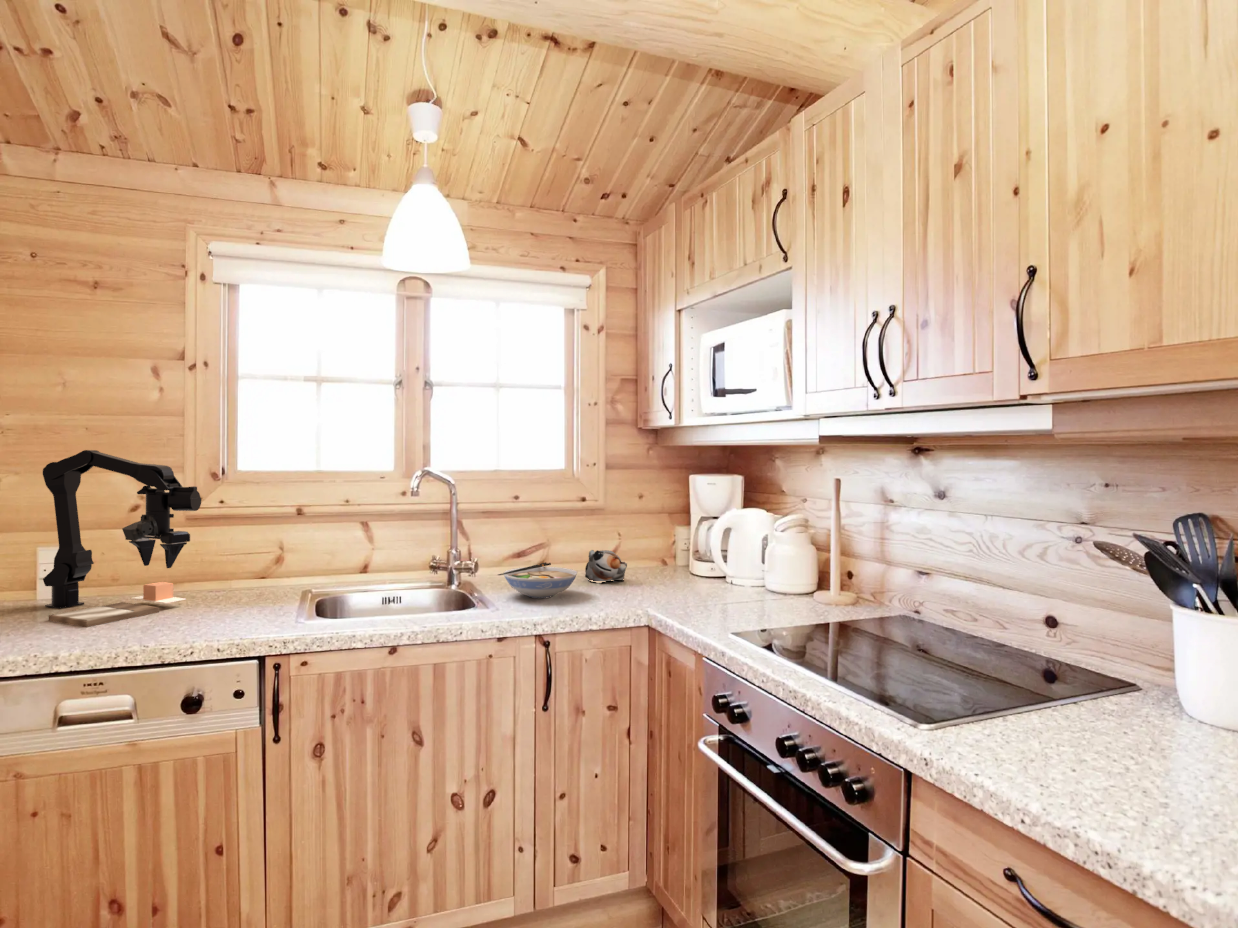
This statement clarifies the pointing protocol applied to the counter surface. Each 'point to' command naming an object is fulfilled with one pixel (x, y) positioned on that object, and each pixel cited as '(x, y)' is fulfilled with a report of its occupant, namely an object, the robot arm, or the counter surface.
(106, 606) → the board
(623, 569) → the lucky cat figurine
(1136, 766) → the counter surface
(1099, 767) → the counter surface
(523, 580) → the ramen bowl
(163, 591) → the butter dish
